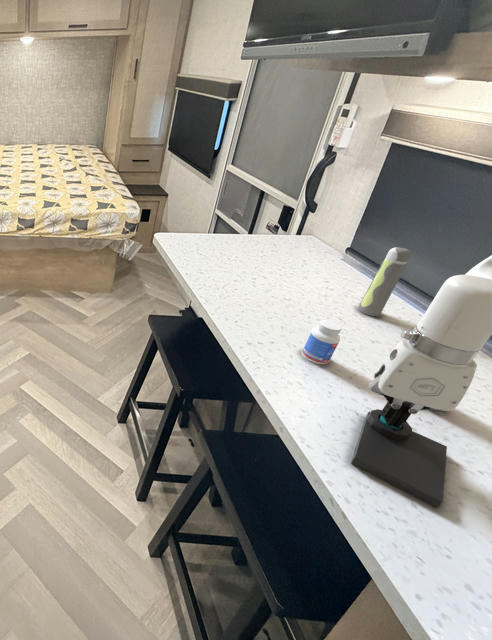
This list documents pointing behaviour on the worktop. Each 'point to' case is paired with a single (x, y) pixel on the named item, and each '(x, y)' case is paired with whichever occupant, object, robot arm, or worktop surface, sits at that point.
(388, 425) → the button
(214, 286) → the worktop surface
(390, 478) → the black flat block
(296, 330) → the worktop surface
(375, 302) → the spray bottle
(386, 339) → the worktop surface
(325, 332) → the pill bottle
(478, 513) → the worktop surface
